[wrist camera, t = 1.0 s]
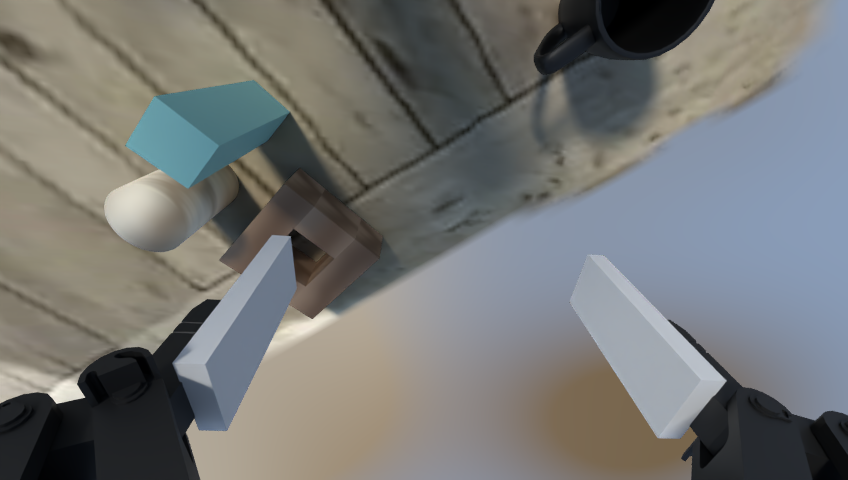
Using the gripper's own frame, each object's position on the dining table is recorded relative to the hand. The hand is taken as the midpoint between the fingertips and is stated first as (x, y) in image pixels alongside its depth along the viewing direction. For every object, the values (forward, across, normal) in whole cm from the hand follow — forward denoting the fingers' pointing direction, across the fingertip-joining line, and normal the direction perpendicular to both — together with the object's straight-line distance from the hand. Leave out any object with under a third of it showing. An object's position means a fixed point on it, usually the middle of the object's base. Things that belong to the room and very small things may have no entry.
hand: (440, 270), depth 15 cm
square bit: (+23, -16, +2) cm, 28 cm away
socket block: (+23, -12, -12) cm, 29 cm away
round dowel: (+23, -23, -5) cm, 33 cm away
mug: (+23, +12, +12) cm, 29 cm away
